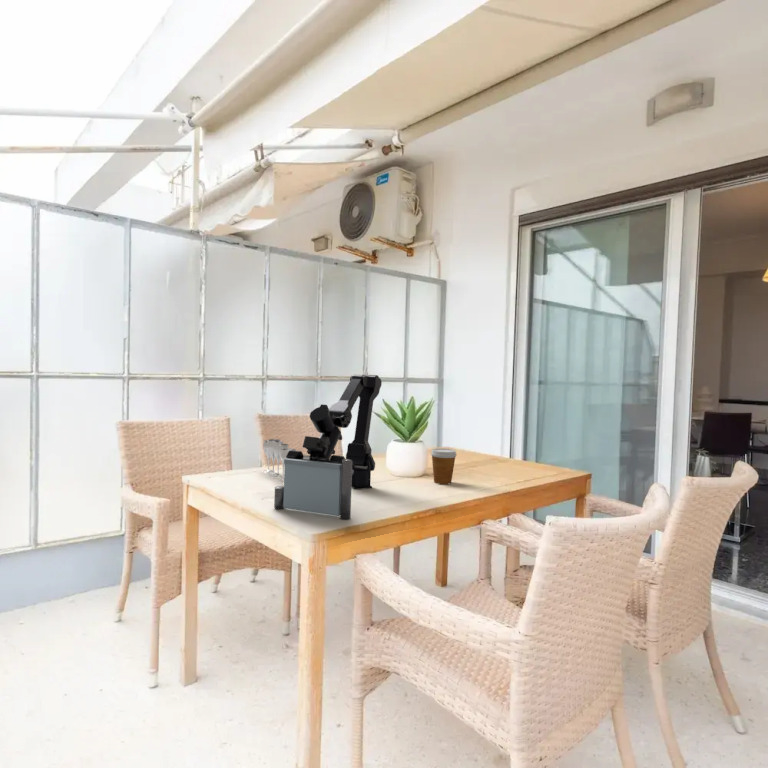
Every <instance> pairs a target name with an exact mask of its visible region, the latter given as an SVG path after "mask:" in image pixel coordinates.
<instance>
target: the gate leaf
mask: <svg viewBox="0 0 768 768" xmlns="http://www.w3.org/2000/svg"><path fill="white" fill-rule="evenodd" d="M341 477H342V464H336V463H327V462H317V461H308V460H298V459H289V458H287V459H284V481H283V482H284V485H283V487H284V504H283V508H284V509H287V510H293V511H300V512H309V513H314V514H321V515H329V516H334V517H340V510H341Z"/></svg>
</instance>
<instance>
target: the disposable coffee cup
mask: <svg viewBox="0 0 768 768" xmlns="http://www.w3.org/2000/svg"><path fill="white" fill-rule="evenodd" d="M430 455H431V461H432V472H433V475H432V476H433V482H434V483H435V484H437V483H440V484H439V485H449V484H448V483H451V484H452V481H453V473H454V469H455V460H456V458H457V451H456V450H455V449H453V448H451V449H450V448H433V449H432V450H431V452H430Z"/></svg>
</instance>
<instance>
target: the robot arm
mask: <svg viewBox="0 0 768 768" xmlns="http://www.w3.org/2000/svg"><path fill="white" fill-rule="evenodd" d="M349 378H350V379H349V382H348V384H347V386H346V387H345V389H344V391H343V393H342V394H341V396H340V398H339V400H337V402H336V403H334V404H332V405H330V407H328V404H323V403H322V404H320V406H319V407H316V408H314V409H313V410H312V411H311V412H310V413H309V418H310V420H311V423H312V424H313V426H314V428H315V430H316V431H317V432H318V433H320V434H319V435H318V437H315V436H308V435H306V436H304V439H303V443H302V448H304V449H306V453H307V454H303V452H302V450H296V451H295V450H290V451H289V452H288V454H287V455H286V458H289V459H298V460H308V461H317V462H327V463H336V464H342V460H344V459H350V460H352V485H351V488H353V489H354V490H358V489H360V490H361V489H372V488H373V486H372V485H371V479H372V478H371V477H372V476H371V475H372V471H375V469H376V461H375V459H374V457H373V455H372V451H373V450H372V448H371V445H370V442H369V436H370V428H371V422H372V414H373V405H374V401H375V399H376V398H377V397H378V395H379V394H380V390H381V387H382V383H383V382H382V379H381V378H380V377H379V375H376V374H353V375H351V376H350V377H349ZM358 398H359V403H358V409H357V418H356V424H355V429H354V430H355V431H354V438H353V440H352V441H351V443H350V442H349V443H348V444H347V449H346V453H345V456H344V455H337V454H336V450H335V448H336V446H337V443H338V441H343V436H342V432H341V430H340V428H341V429H342V428H343V429H347V428H348V427H349V426H350V424H351V421H352V419H353V415H352V410H353V407H354V405H355V404H356V401H357V400H358Z"/></svg>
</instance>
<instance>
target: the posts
mask: <svg viewBox="0 0 768 768" xmlns="http://www.w3.org/2000/svg"><path fill="white" fill-rule="evenodd" d="M351 485H352V460H350V459H346V458H345V459H344V460H342V477H341V510H340V516H339V517H340V518H339V519H340V520H343V521H345V520H347V521H348V520H351V514H352V513H351V510H352V507H351V506H352V487H351ZM273 503H274V505H273V507H274V508H275V509H274V510H284V509H285V508H283V504H284V485H283V486H282V485H281V486H280V485H279V486H278V485H277V486H275V487H274V502H273Z"/></svg>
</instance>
